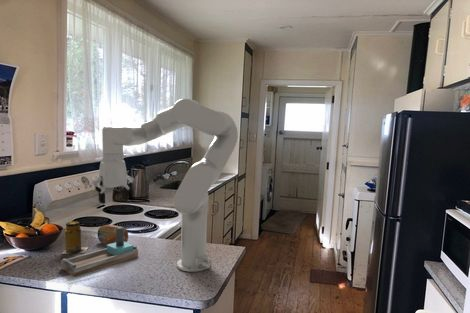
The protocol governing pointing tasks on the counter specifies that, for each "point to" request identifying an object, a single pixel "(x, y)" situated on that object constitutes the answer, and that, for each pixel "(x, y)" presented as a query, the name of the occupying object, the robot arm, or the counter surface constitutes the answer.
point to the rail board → (95, 261)
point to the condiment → (73, 238)
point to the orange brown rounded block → (109, 234)
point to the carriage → (119, 243)
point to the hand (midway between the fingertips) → (113, 201)
